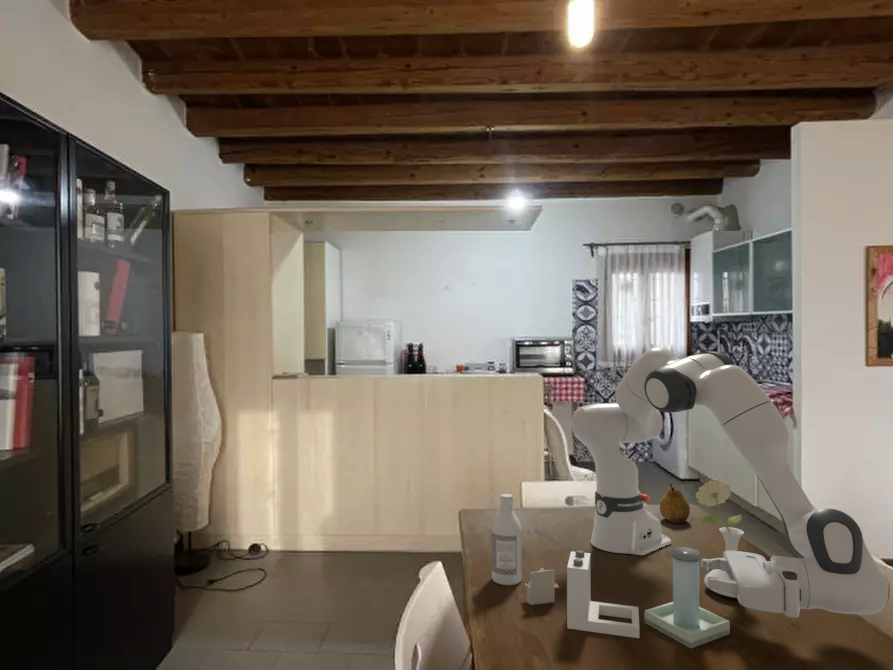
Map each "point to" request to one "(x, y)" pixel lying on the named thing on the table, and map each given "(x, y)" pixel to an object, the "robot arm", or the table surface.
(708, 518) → the flower in vase
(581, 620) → the base
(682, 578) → the cylinder
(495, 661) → the table surface
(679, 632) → the tray
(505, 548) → the bath foam
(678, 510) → the fruit
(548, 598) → the architectural model
